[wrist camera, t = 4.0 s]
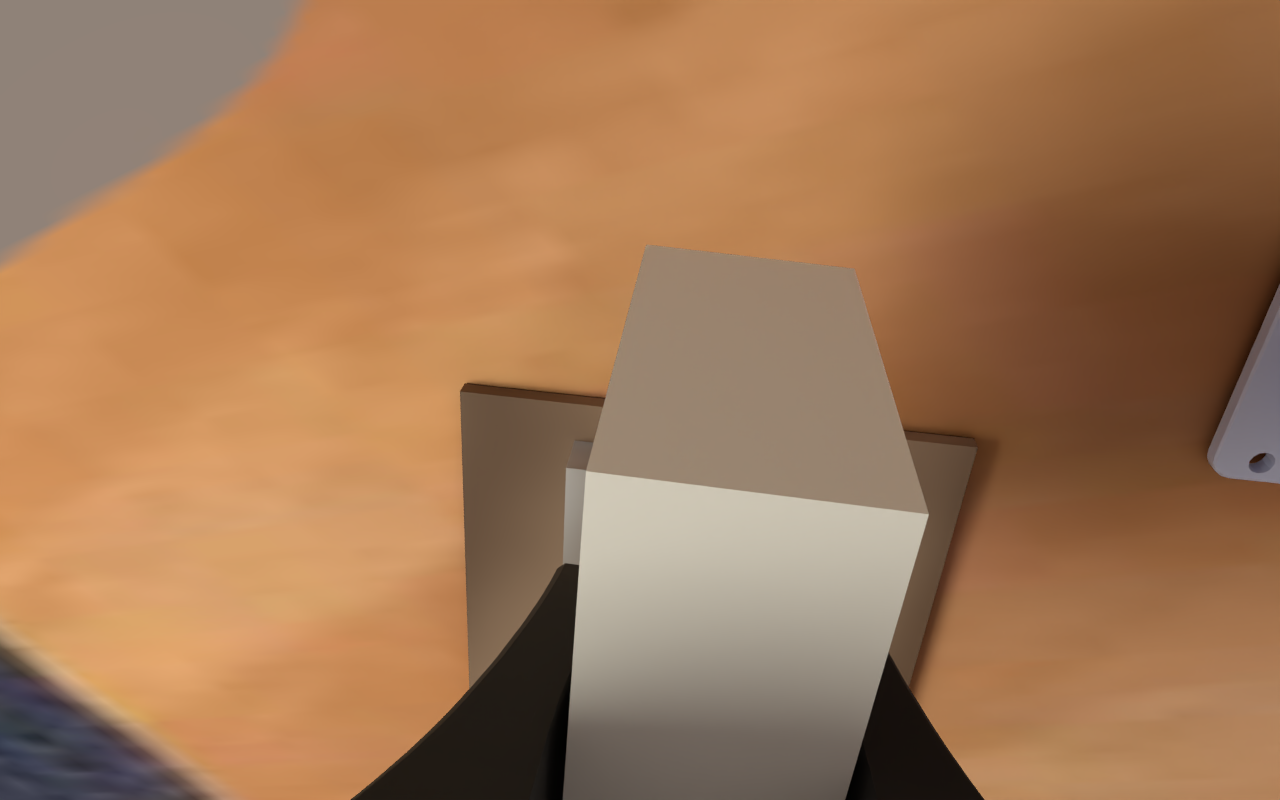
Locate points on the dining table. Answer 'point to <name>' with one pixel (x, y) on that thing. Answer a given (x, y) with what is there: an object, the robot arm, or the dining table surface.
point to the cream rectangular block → (738, 538)
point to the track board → (554, 498)
